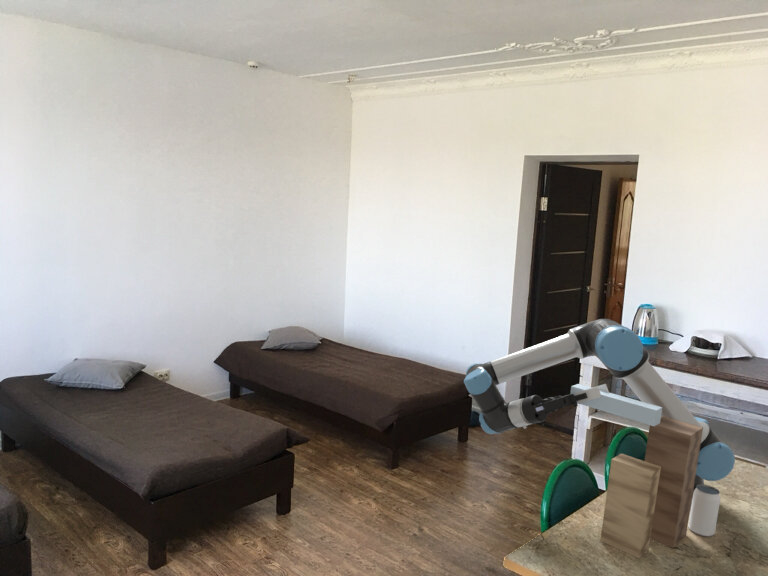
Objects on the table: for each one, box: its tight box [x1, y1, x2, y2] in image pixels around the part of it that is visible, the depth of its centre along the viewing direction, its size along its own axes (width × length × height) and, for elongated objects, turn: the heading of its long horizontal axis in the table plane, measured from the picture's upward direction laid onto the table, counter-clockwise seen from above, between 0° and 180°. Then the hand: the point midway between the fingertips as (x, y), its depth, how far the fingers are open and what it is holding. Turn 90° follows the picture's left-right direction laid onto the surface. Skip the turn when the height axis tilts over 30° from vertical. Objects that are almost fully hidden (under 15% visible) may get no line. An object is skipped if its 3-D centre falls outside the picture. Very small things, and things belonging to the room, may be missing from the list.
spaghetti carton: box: [569, 383, 662, 426], centre depth 158 cm, size 22×4×4 cm, turn 46°
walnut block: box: [644, 416, 703, 549], centre depth 163 cm, size 10×10×30 cm
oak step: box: [600, 453, 661, 559], centre depth 156 cm, size 6×10×22 cm, turn 47°
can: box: [687, 484, 721, 538], centre depth 168 cm, size 6×6×12 cm
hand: (603, 390), depth 160 cm, fingers closed on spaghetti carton, 4 cm apart
